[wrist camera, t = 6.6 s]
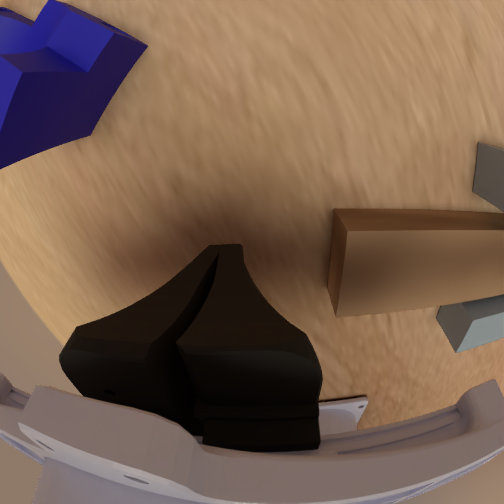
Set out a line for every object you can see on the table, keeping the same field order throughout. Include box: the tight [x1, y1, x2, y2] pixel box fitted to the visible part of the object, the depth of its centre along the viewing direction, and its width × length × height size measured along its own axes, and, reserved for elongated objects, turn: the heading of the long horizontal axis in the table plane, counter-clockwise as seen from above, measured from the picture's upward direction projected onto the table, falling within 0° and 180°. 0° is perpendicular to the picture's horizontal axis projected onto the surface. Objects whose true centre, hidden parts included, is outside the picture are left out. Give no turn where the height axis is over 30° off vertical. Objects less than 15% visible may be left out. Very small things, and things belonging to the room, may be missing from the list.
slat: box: [327, 209, 504, 317], centre depth 11 cm, size 4×12×2 cm, turn 93°
